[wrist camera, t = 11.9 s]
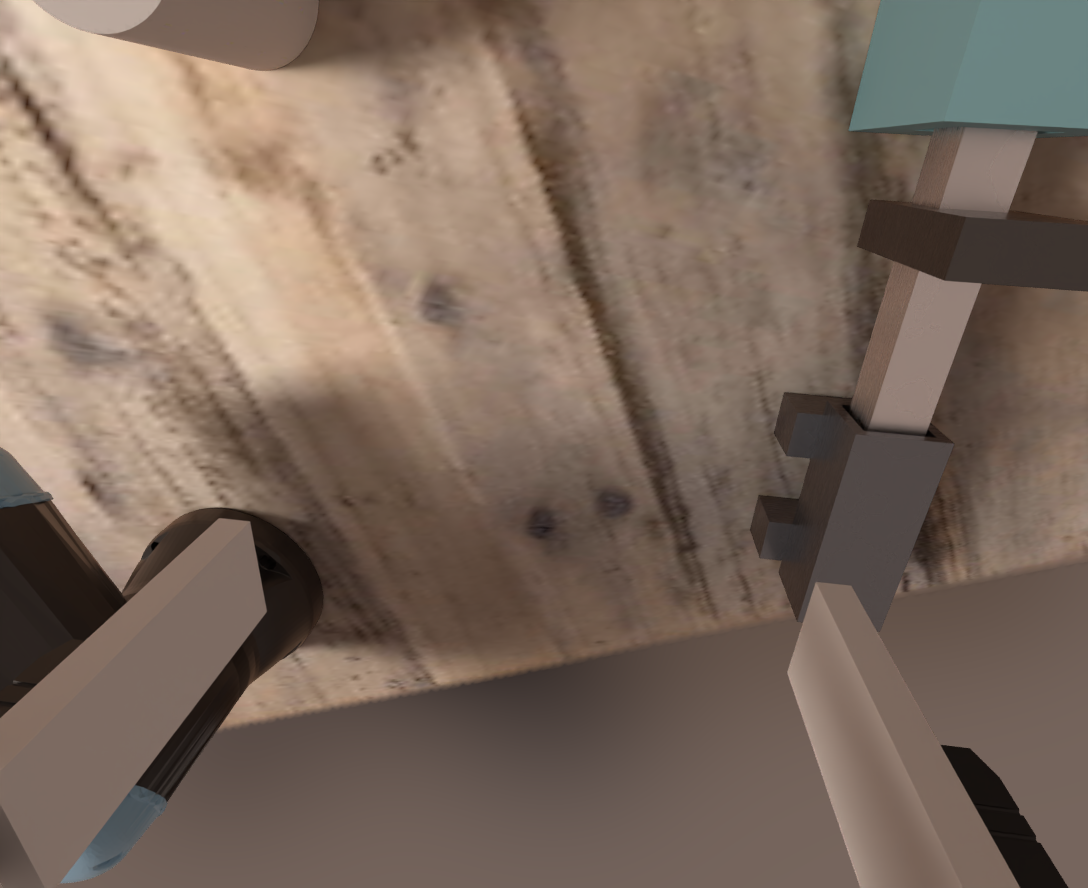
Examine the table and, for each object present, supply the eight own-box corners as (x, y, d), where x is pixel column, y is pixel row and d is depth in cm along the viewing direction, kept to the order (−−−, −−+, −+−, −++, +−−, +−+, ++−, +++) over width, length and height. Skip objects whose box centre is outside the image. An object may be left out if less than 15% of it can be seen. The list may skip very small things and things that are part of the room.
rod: (883, 503, 39) (959, 606, 30) (789, 493, 40) (837, 592, 31) (1043, 53, 28) (1237, 6, 19) (911, 47, 29) (1040, -1, 20)
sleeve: (856, 553, 45) (904, 634, 37) (747, 540, 45) (772, 618, 38) (913, 389, 39) (984, 446, 31) (787, 378, 40) (826, 431, 32)
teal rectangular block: (1000, 139, 33) (1165, 132, 23) (848, 131, 33) (943, 121, 23) (1047, 4, 30) (1256, -69, 20) (881, -2, 31) (1004, -76, 21)
